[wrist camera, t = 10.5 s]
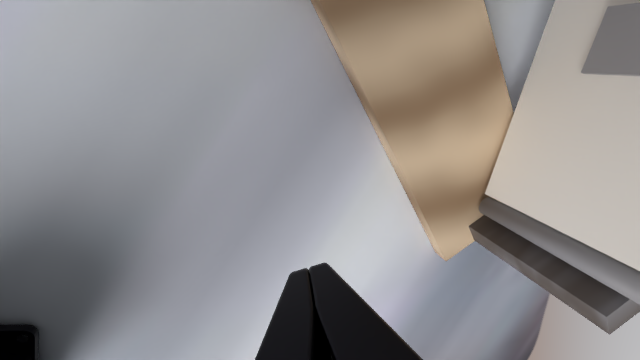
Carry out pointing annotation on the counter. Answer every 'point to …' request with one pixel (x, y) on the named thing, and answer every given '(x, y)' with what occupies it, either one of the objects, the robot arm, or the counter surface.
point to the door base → (450, 130)
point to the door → (578, 144)
